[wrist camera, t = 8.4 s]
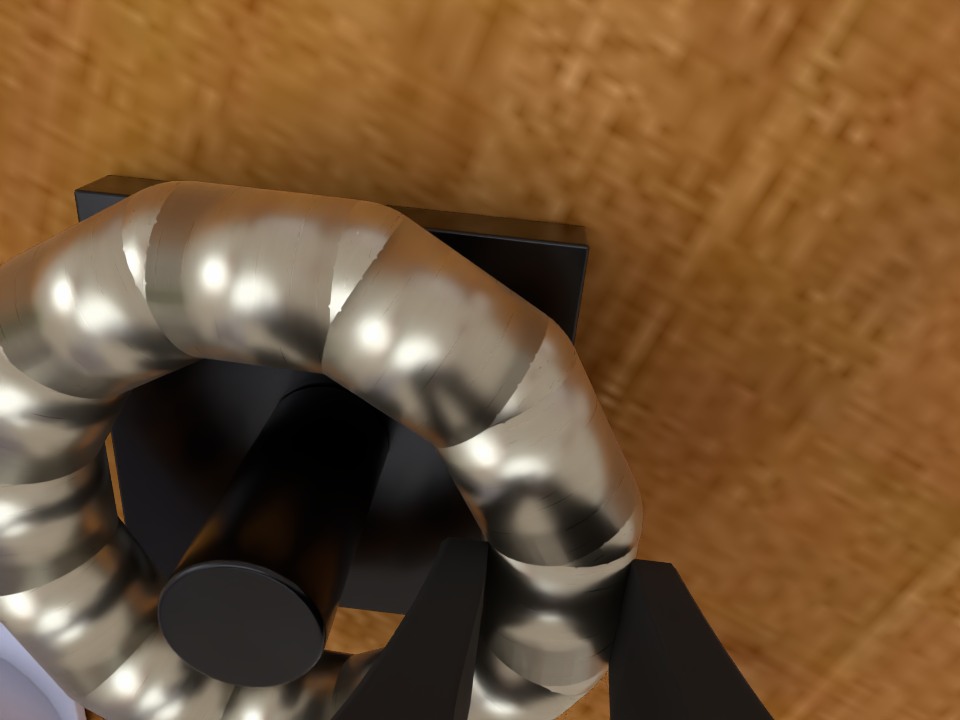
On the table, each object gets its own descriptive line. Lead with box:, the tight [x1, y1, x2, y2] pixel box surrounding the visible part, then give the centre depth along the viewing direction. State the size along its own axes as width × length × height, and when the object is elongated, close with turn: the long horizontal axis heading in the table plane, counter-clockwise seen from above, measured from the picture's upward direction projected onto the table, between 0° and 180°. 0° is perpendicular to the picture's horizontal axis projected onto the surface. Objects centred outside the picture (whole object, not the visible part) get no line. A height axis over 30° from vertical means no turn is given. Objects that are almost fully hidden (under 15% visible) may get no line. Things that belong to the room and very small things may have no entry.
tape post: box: [75, 175, 589, 688], centre depth 13 cm, size 9×9×6 cm
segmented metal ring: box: [0, 180, 643, 720], centre depth 12 cm, size 11×11×2 cm
